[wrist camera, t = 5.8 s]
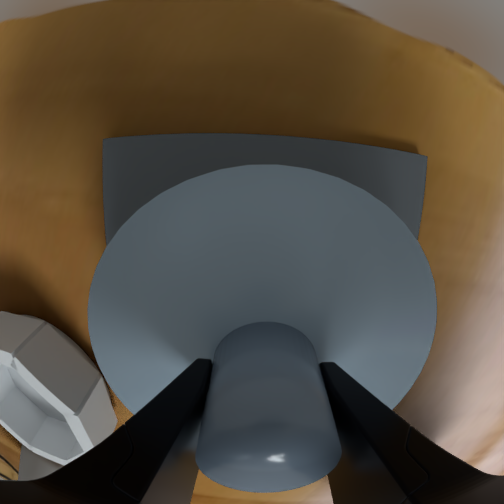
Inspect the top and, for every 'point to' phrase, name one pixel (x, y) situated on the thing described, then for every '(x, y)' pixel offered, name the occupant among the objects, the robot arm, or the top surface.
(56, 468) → the flask
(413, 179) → the plate
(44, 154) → the top surface
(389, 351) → the lid
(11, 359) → the bowl
